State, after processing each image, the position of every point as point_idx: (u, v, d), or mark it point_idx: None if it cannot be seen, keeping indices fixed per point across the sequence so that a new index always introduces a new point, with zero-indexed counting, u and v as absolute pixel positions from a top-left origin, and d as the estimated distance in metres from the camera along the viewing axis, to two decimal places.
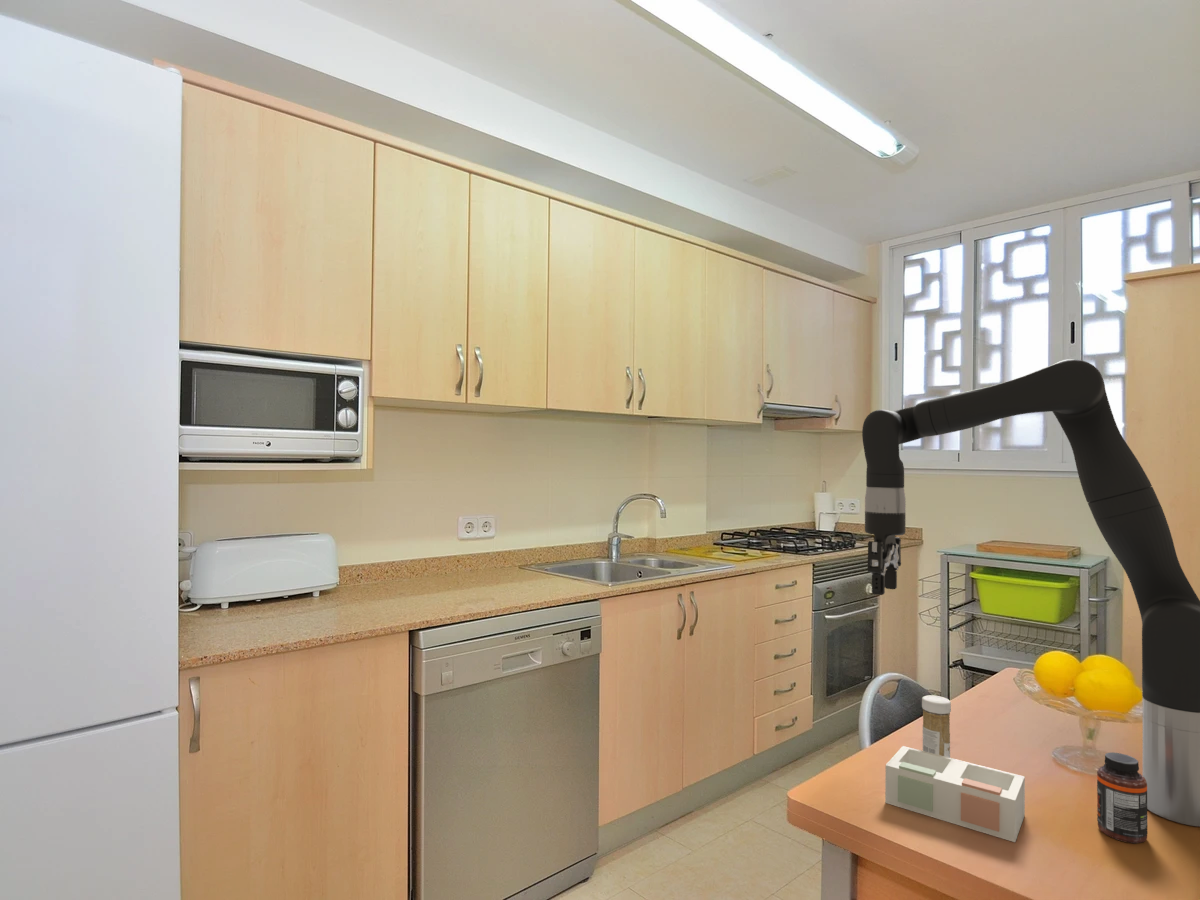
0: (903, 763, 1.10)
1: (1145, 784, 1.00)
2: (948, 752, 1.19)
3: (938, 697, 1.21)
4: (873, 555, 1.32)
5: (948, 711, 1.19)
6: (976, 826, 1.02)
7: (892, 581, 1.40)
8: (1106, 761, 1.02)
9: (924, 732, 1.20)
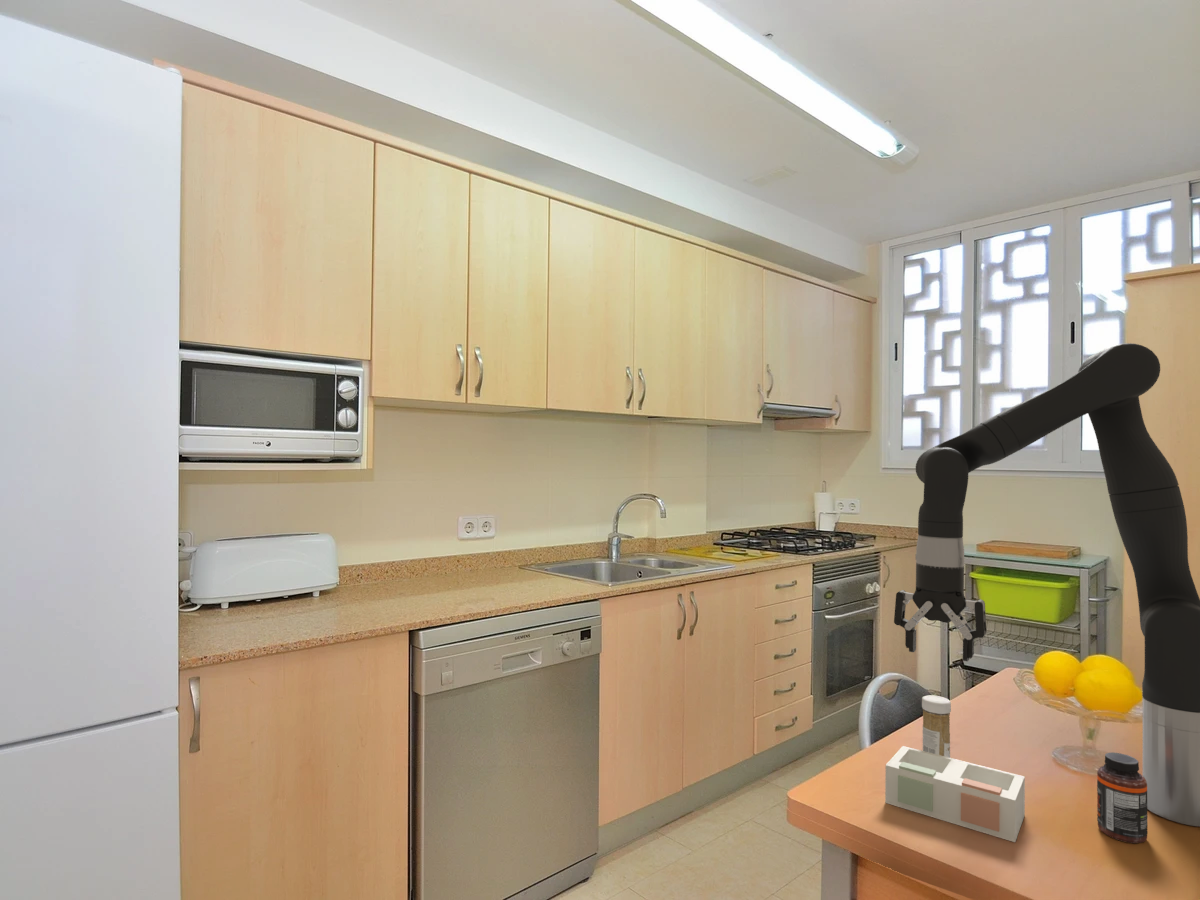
0: (903, 763, 1.10)
1: (1145, 784, 1.00)
2: (948, 752, 1.19)
3: (938, 697, 1.21)
4: (984, 616, 1.15)
5: (948, 711, 1.19)
6: (976, 826, 1.02)
7: (915, 642, 1.22)
8: (1106, 761, 1.02)
9: (924, 732, 1.20)
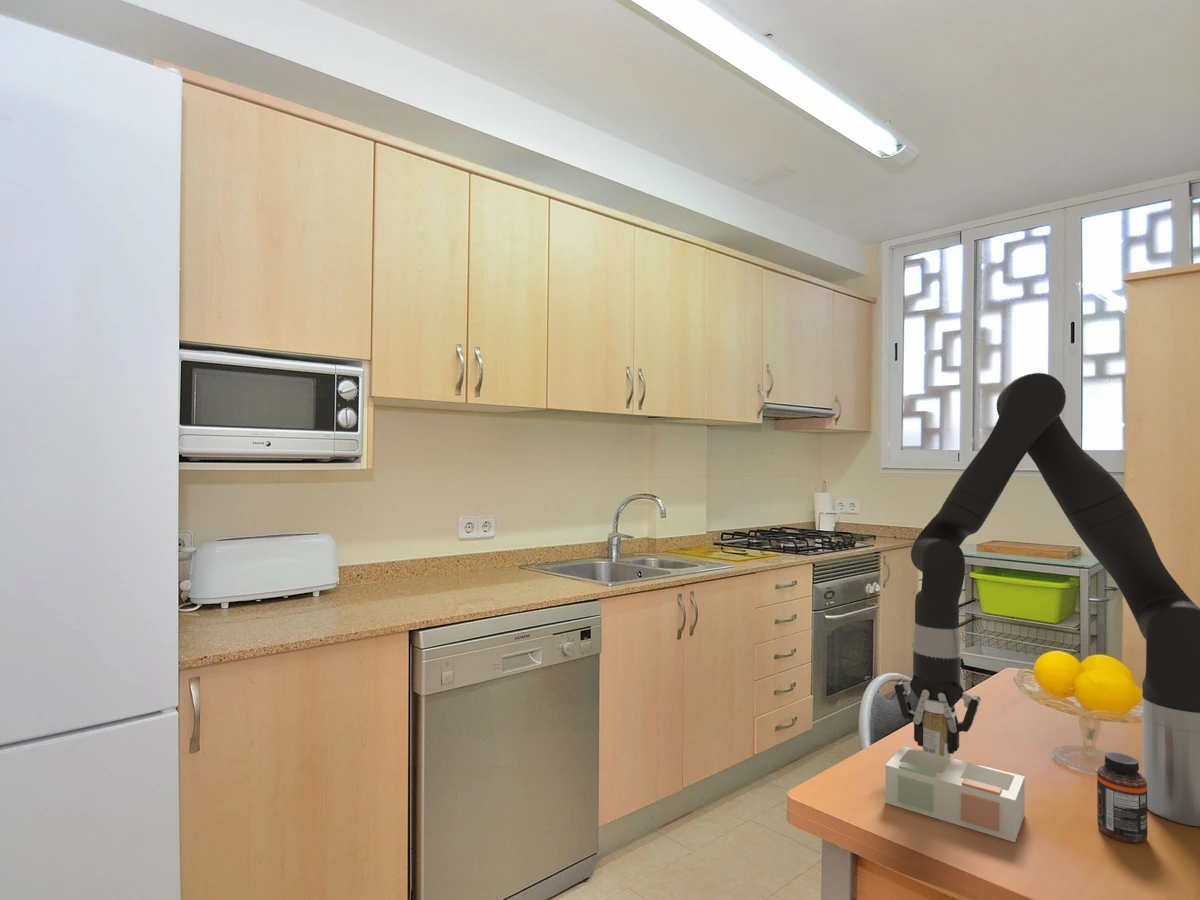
0: (903, 763, 1.10)
1: (1145, 784, 1.00)
2: None
3: None
4: (975, 714, 1.17)
5: None
6: (976, 826, 1.02)
7: None
8: (1106, 761, 1.02)
9: (924, 732, 1.20)
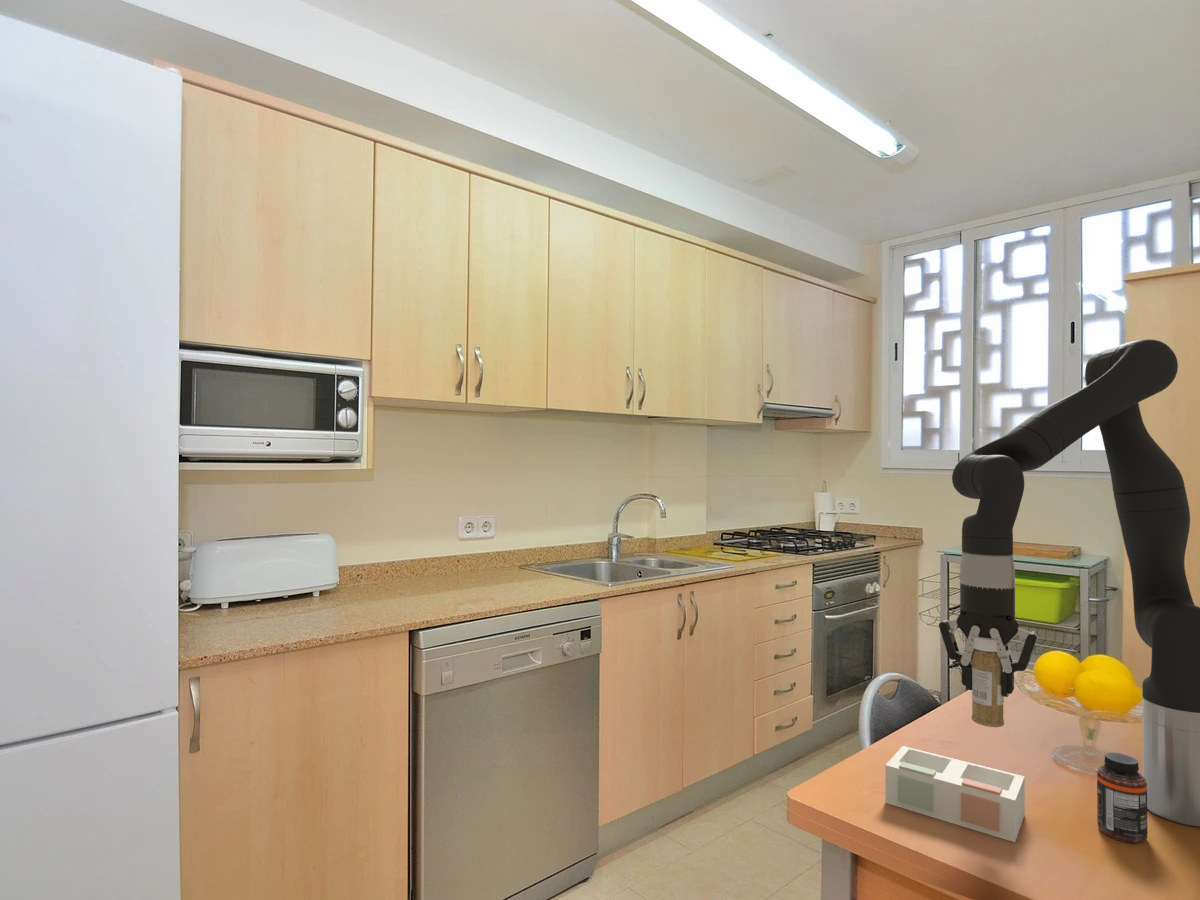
0: (903, 763, 1.10)
1: (1145, 784, 1.00)
2: None
3: None
4: (1032, 651, 1.03)
5: None
6: (976, 826, 1.02)
7: None
8: (1106, 761, 1.02)
9: (974, 674, 1.07)
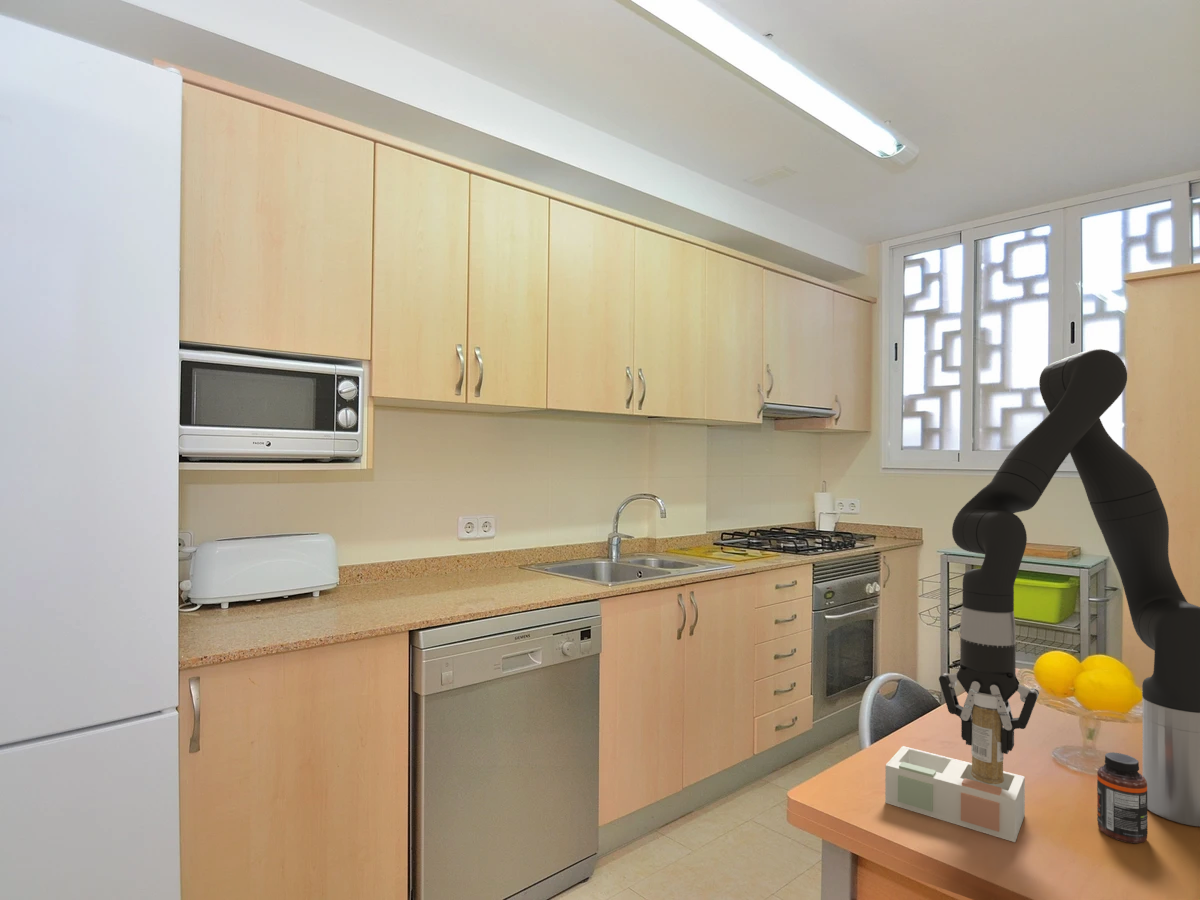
0: (903, 763, 1.10)
1: (1145, 784, 1.00)
2: (1001, 752, 1.05)
3: None
4: None
5: None
6: (976, 826, 1.02)
7: None
8: (1106, 761, 1.02)
9: (974, 729, 1.07)
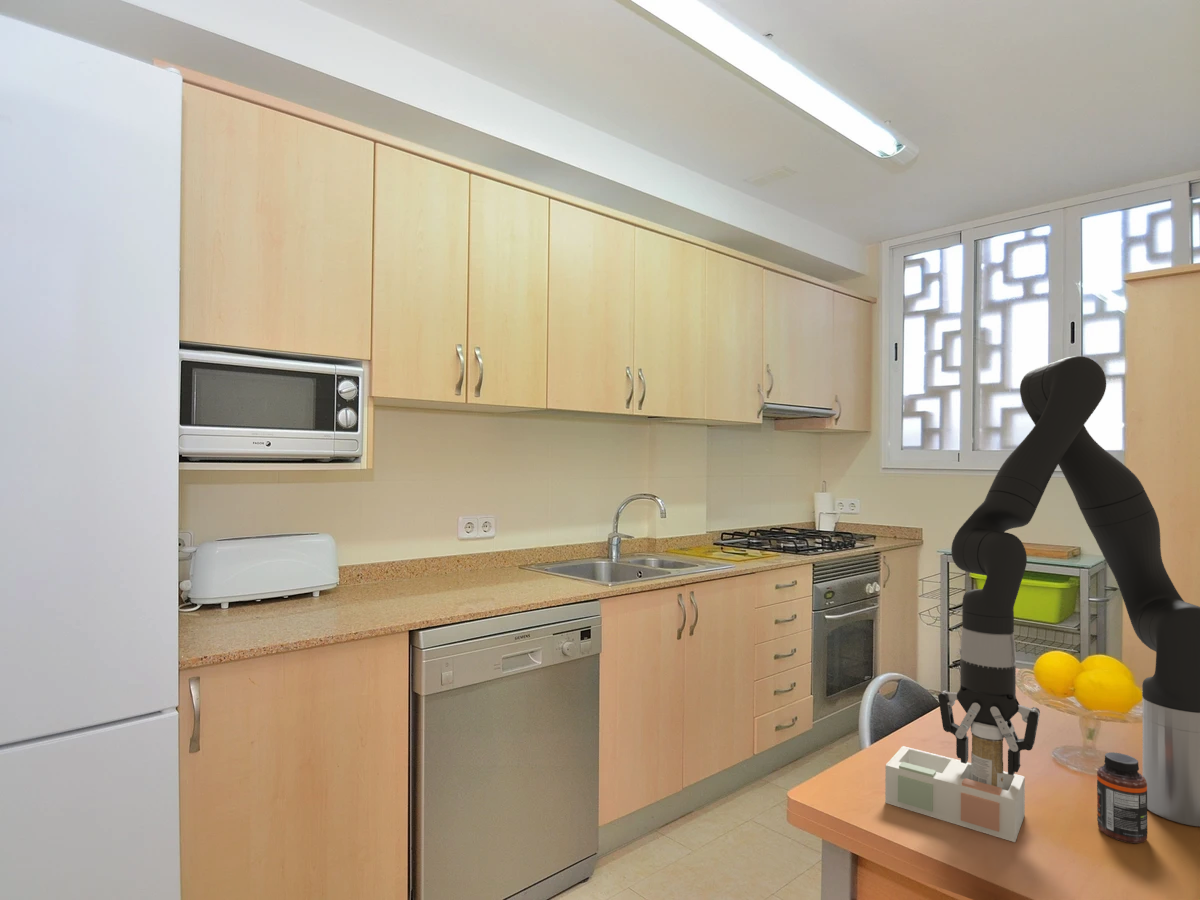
0: (903, 763, 1.10)
1: (1145, 784, 1.00)
2: (1001, 783, 1.05)
3: None
4: (1036, 728, 1.03)
5: (1002, 737, 1.05)
6: (976, 826, 1.02)
7: (967, 751, 1.09)
8: (1106, 761, 1.02)
9: (973, 760, 1.07)
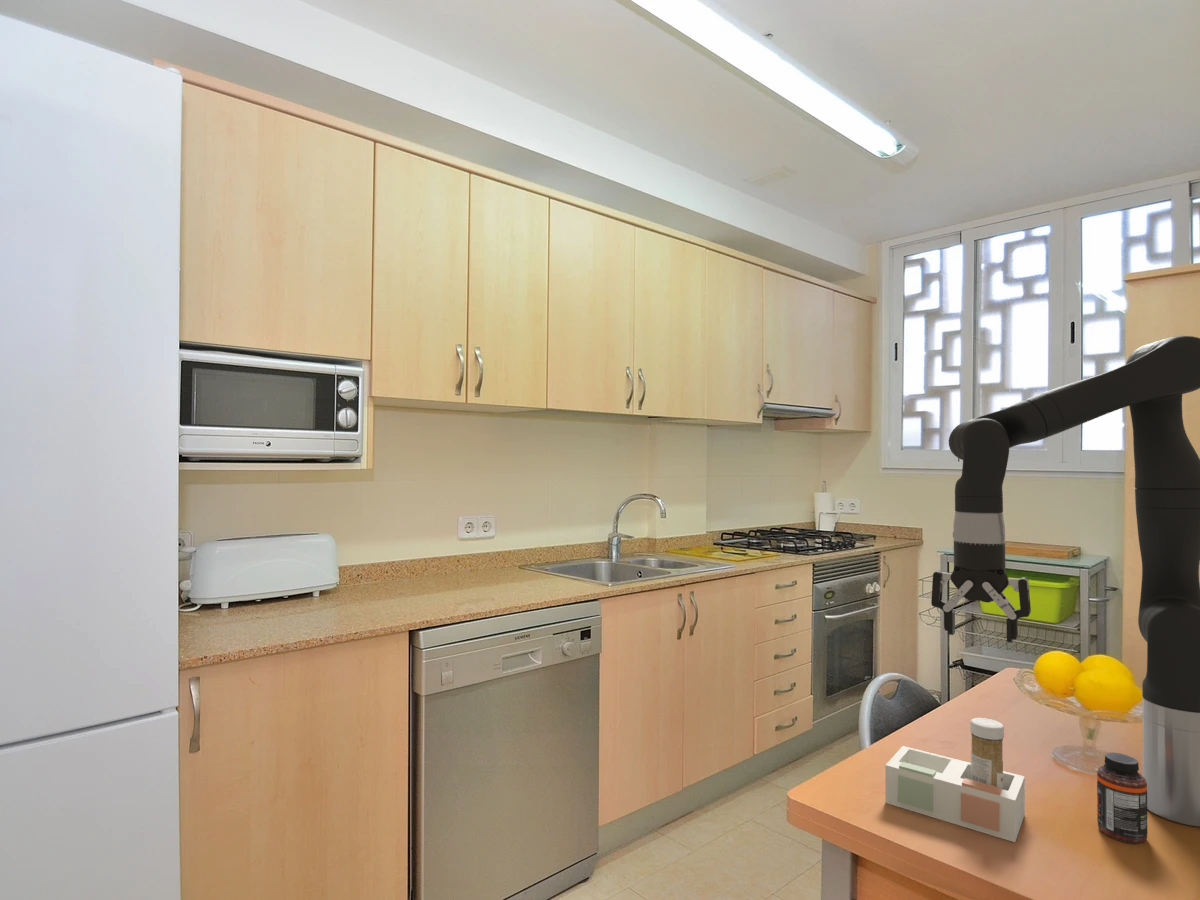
0: (903, 763, 1.10)
1: (1145, 784, 1.00)
2: (1001, 783, 1.05)
3: (989, 720, 1.08)
4: (1028, 595, 1.09)
5: (1001, 736, 1.05)
6: (976, 826, 1.02)
7: (954, 624, 1.16)
8: (1106, 761, 1.02)
9: (973, 760, 1.07)
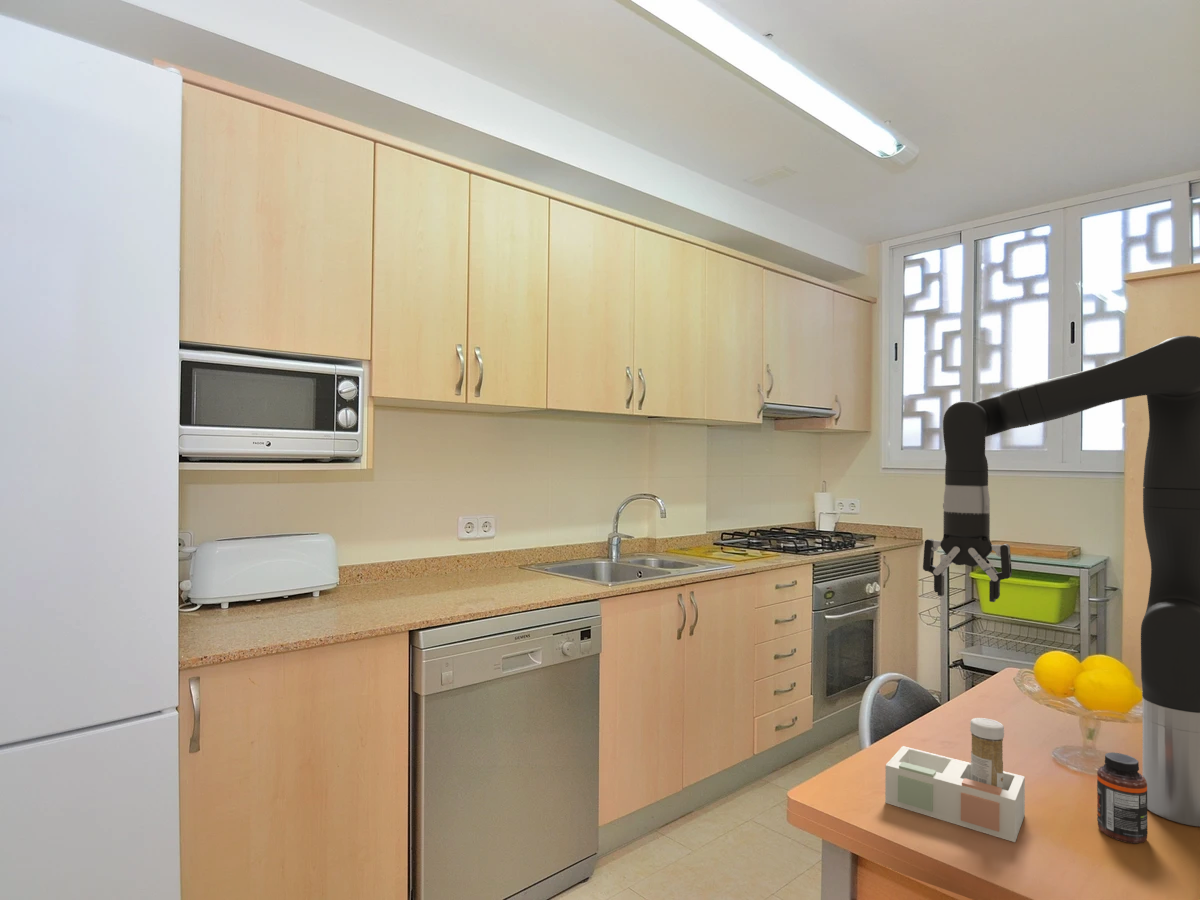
0: (903, 763, 1.10)
1: (1145, 784, 1.00)
2: (1001, 783, 1.05)
3: (989, 720, 1.08)
4: (1009, 559, 1.22)
5: (1001, 737, 1.05)
6: (976, 826, 1.02)
7: (943, 586, 1.29)
8: (1106, 761, 1.02)
9: (973, 760, 1.07)
